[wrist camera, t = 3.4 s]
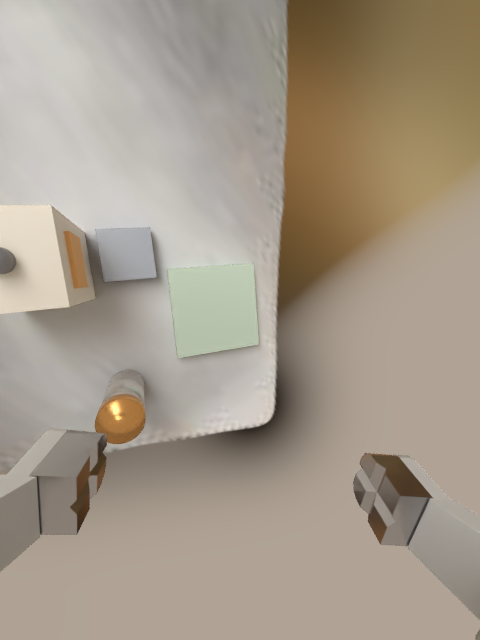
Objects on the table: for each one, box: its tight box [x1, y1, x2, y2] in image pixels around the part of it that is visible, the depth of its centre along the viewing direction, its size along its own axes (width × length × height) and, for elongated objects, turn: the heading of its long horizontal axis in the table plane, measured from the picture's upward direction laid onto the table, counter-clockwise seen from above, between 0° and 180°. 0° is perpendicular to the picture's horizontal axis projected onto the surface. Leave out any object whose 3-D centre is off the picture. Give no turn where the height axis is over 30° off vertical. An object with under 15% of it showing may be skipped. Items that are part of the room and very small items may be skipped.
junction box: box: [0, 205, 96, 314], centre depth 25 cm, size 8×8×14 cm
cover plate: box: [95, 227, 157, 282], centre depth 33 cm, size 6×6×2 cm
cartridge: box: [95, 370, 145, 444], centre depth 31 cm, size 5×5×10 cm
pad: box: [167, 263, 259, 358], centre depth 38 cm, size 12×12×1 cm
